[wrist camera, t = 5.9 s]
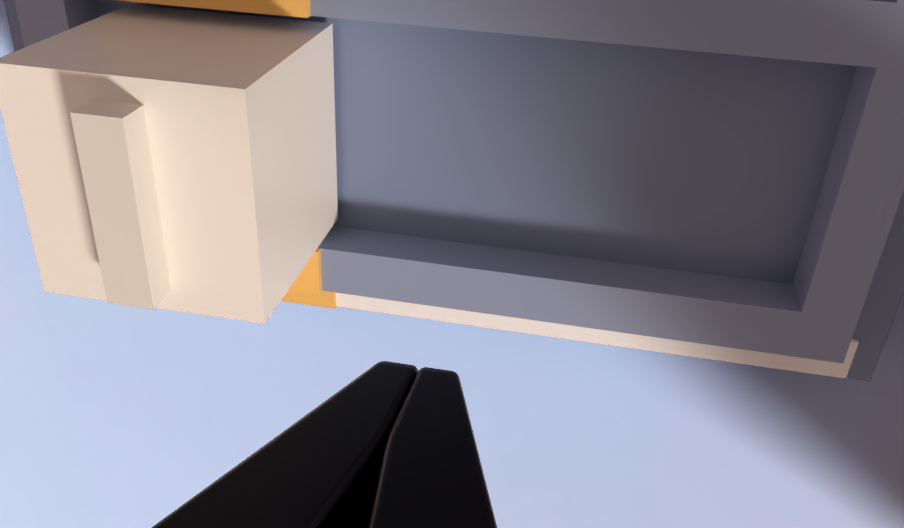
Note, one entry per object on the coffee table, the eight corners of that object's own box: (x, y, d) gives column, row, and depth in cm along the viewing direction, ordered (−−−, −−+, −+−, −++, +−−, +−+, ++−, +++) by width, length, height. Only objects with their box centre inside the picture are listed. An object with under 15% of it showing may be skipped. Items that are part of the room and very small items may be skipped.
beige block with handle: (332, 23, 15) (227, 102, 11) (338, 218, 17) (250, 344, 13) (130, 4, 16) (-39, 74, 12) (158, 195, 18) (22, 309, 14)
